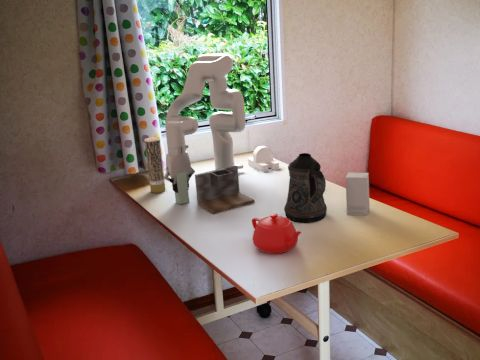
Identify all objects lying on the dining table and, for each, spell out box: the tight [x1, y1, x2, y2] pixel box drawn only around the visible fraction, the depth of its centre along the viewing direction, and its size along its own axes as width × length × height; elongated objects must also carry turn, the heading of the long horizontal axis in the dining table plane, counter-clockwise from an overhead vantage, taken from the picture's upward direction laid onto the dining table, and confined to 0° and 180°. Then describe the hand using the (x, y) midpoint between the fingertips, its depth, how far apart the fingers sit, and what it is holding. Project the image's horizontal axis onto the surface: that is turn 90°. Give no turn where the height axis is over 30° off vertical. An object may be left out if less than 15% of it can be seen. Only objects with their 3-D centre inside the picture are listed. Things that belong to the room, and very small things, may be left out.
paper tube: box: [144, 136, 166, 194], centre depth 255 cm, size 7×7×25 cm
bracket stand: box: [194, 164, 256, 215], centre depth 234 cm, size 20×14×14 cm
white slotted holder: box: [247, 145, 280, 173], centre depth 284 cm, size 10×18×11 cm, turn 24°
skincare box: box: [345, 171, 370, 216], centre depth 215 cm, size 8×7×16 cm
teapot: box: [251, 213, 303, 255], centre depth 189 cm, size 25×16×12 cm, turn 38°
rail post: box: [174, 171, 190, 205], centre depth 239 cm, size 4×4×16 cm
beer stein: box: [283, 152, 328, 224], centre depth 213 cm, size 16×19×25 cm
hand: (181, 190), depth 240 cm, fingers closed on rail post, 4 cm apart
